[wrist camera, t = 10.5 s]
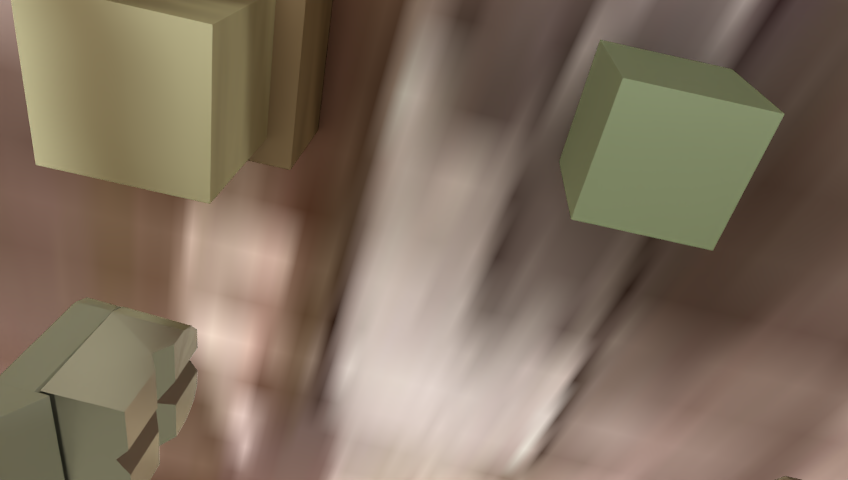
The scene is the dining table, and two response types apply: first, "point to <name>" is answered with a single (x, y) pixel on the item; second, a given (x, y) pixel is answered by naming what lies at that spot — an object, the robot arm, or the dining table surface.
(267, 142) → the brown square block
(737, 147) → the green cube
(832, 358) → the dining table surface
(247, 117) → the birch cube
